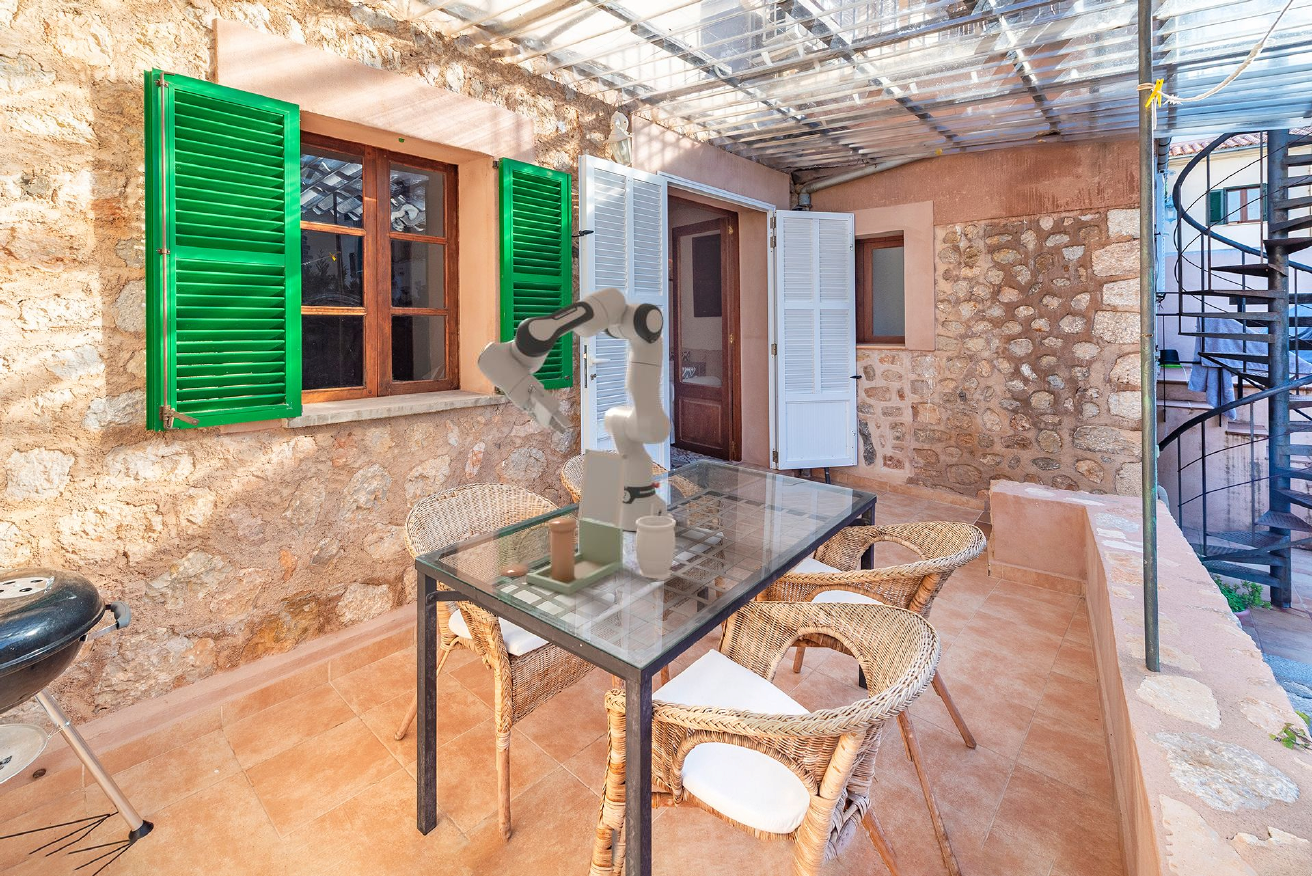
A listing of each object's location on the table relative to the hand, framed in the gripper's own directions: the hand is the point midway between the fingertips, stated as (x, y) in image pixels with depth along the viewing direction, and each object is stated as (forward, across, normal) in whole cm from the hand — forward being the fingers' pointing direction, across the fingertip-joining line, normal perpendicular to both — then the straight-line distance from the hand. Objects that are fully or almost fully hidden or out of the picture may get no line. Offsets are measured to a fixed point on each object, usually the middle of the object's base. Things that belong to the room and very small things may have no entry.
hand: (566, 429), depth 169 cm
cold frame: (+28, +4, +26) cm, 39 cm away
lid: (+17, +3, +4) cm, 18 cm away
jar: (+44, +1, +12) cm, 45 cm away
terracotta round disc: (+16, +9, +36) cm, 40 cm away
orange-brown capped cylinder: (+26, +1, +28) cm, 38 cm away
